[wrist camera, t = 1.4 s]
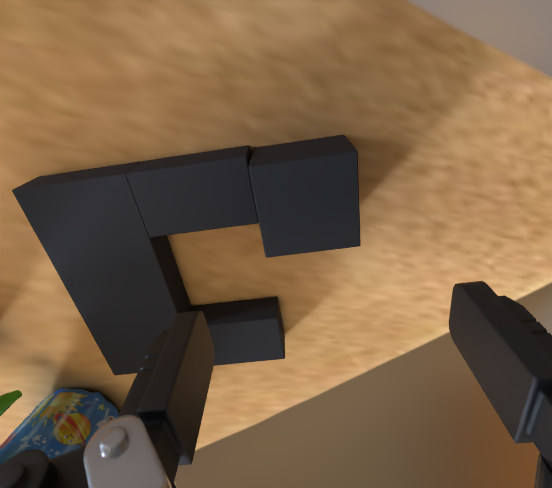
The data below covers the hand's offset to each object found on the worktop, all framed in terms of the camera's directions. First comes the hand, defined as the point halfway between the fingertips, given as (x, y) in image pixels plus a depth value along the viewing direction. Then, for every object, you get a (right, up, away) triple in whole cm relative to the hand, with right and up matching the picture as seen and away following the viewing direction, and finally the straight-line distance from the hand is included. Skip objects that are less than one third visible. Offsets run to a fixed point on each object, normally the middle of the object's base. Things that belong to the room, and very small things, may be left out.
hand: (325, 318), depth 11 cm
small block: (0, +6, +11) cm, 13 cm away
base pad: (-9, +1, +14) cm, 17 cm away
